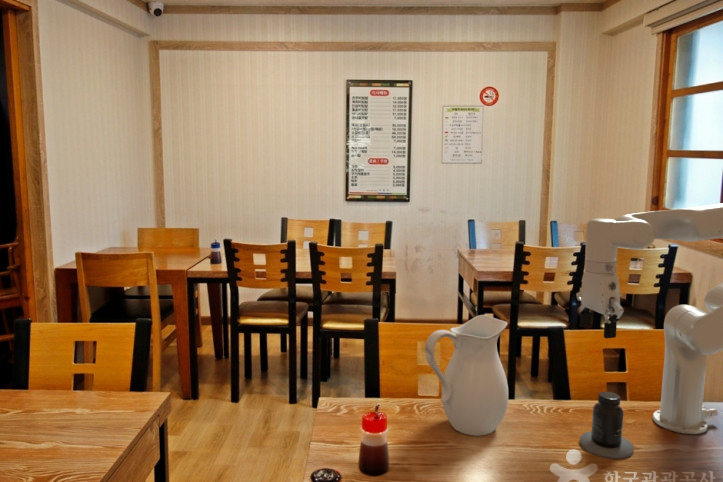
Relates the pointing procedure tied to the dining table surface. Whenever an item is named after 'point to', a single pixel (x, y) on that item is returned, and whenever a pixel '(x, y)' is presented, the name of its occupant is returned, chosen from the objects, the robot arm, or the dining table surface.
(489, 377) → the pitcher
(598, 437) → the supplement bottle
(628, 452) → the coaster
